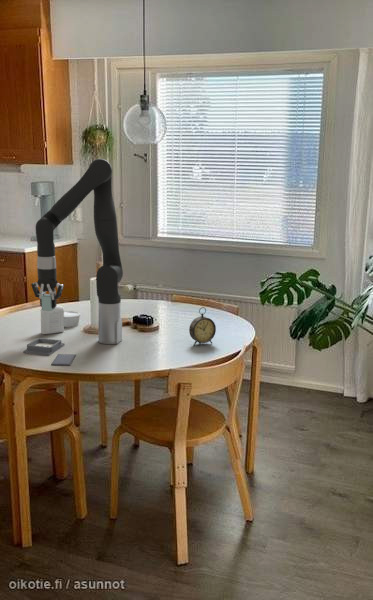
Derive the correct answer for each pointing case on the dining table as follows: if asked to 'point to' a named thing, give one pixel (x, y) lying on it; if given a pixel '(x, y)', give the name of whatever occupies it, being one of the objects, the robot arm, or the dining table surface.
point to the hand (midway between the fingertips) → (48, 307)
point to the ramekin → (71, 318)
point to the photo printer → (52, 320)
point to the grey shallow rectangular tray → (43, 346)
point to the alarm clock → (202, 329)
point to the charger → (46, 302)
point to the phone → (63, 359)
